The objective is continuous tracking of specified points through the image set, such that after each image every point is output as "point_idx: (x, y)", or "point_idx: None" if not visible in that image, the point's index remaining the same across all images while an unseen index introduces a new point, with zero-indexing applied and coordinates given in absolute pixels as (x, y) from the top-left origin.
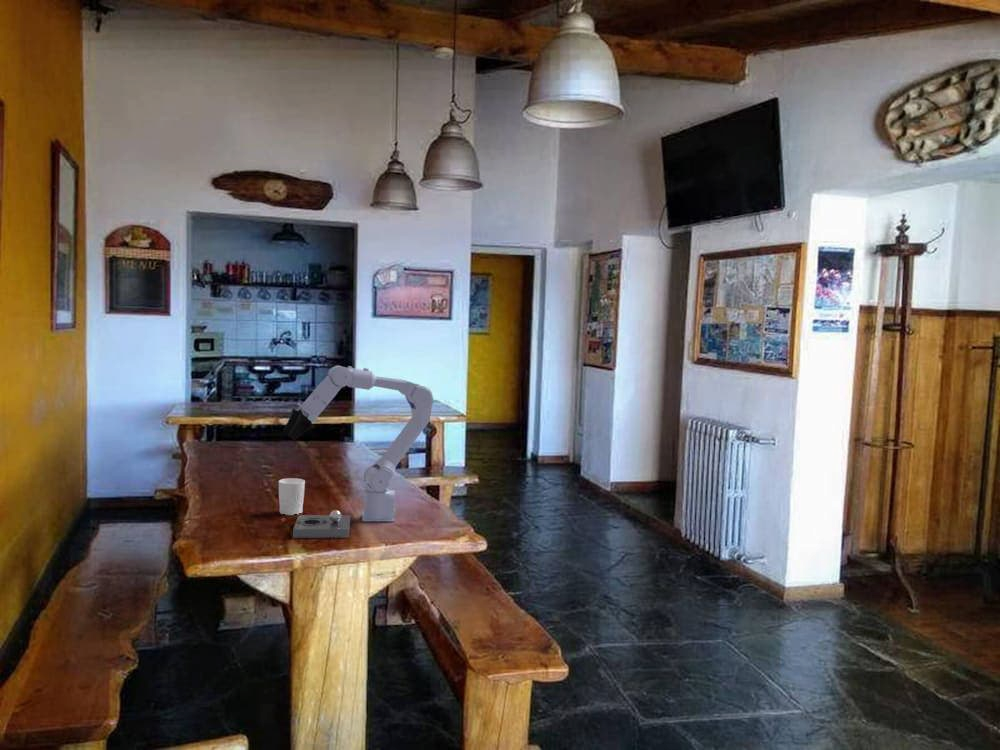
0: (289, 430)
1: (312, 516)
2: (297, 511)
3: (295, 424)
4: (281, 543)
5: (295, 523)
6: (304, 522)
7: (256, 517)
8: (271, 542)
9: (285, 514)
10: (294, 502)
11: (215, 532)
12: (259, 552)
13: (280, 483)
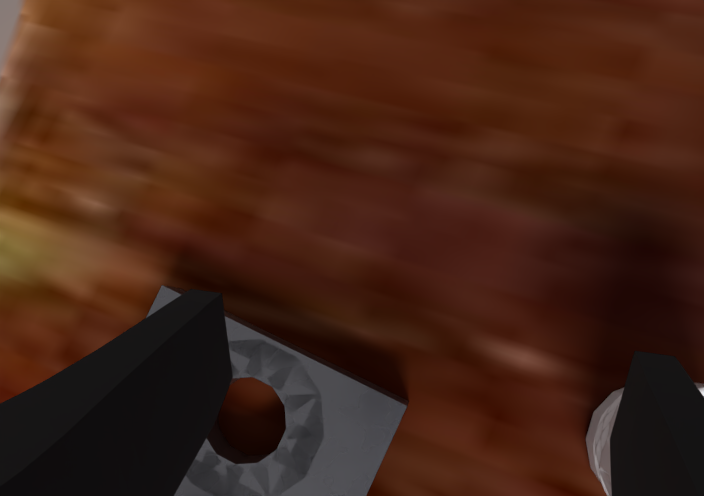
0: (626, 459)
1: (348, 464)
2: (591, 464)
3: (57, 409)
4: (130, 218)
5: (253, 330)
6: (274, 387)
7: (618, 240)
8: (163, 184)
9: (607, 397)
10: (600, 453)
11: (421, 3)
12: (59, 104)
13: (699, 386)
